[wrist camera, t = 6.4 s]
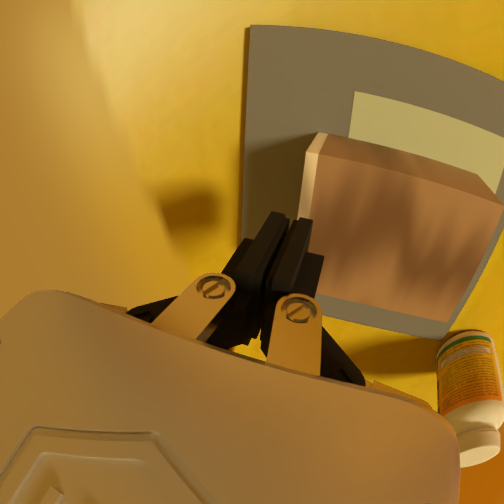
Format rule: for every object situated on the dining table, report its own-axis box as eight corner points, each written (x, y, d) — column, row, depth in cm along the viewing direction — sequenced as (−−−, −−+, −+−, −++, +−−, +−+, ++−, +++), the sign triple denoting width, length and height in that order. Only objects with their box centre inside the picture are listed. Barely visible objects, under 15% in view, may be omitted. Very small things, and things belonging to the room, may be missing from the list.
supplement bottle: (501, 349, 18) (517, 451, 11) (451, 376, 22) (453, 475, 14) (478, 317, 18) (498, 434, 10) (423, 350, 21) (422, 462, 13)
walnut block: (306, 151, 12) (504, 206, 10) (318, 132, 15) (477, 174, 13) (286, 286, 16) (446, 322, 14) (302, 244, 19) (437, 277, 17)
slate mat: (252, 25, 13) (250, 24, 12) (537, 99, 9) (540, 101, 9) (241, 290, 23) (239, 293, 23) (440, 337, 20) (441, 341, 19)
